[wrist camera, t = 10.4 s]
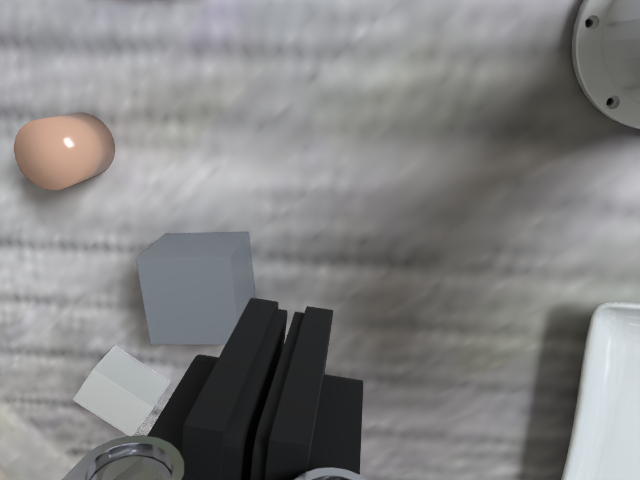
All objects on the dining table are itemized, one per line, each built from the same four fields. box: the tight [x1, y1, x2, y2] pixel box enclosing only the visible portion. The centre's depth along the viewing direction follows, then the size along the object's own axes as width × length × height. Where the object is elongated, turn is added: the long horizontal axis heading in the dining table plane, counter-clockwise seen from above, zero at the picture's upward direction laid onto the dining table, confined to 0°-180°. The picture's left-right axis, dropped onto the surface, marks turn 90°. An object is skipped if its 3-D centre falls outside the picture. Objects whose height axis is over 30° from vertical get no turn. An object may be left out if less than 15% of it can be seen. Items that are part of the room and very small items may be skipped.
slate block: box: [136, 232, 256, 345], centre depth 42 cm, size 7×7×6 cm
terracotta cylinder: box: [14, 113, 115, 190], centre depth 40 cm, size 5×5×5 cm
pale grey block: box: [73, 345, 170, 436], centre depth 47 cm, size 6×4×4 cm, turn 54°
